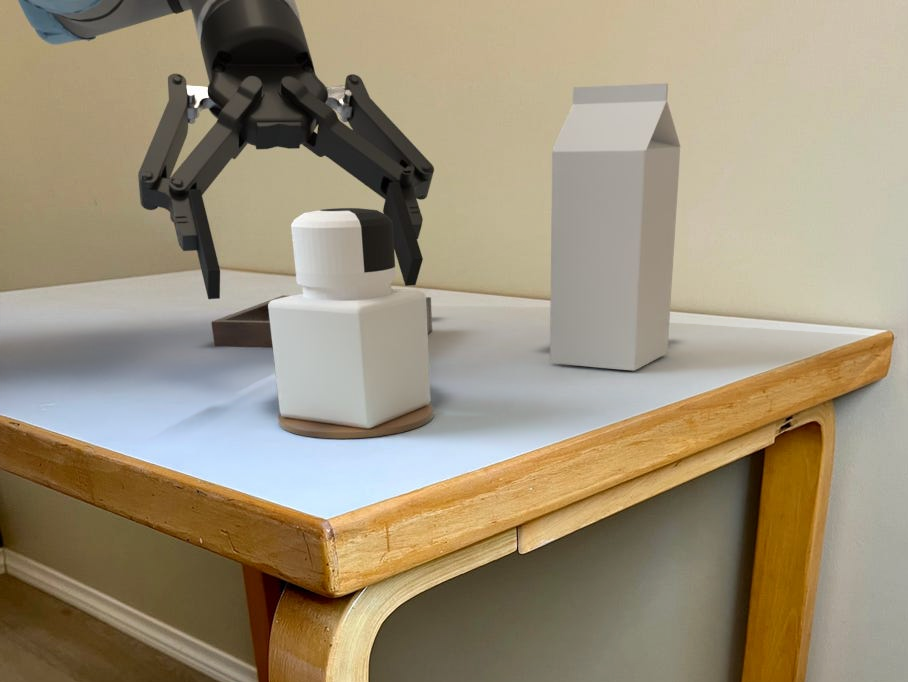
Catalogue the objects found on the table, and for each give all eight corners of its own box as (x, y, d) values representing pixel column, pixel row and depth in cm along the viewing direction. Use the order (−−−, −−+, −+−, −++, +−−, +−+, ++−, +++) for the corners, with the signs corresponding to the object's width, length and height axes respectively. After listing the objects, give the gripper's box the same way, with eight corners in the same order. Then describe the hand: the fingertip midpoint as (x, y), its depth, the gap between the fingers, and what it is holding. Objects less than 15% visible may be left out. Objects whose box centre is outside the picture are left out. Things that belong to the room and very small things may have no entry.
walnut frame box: (216, 358, 83) (210, 321, 82) (285, 328, 96) (282, 295, 95) (383, 363, 80) (380, 324, 79) (432, 331, 93) (431, 297, 92)
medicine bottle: (345, 394, 69) (329, 204, 64) (433, 404, 66) (424, 206, 61) (278, 418, 64) (254, 213, 58) (369, 431, 61) (353, 215, 55)
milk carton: (635, 373, 75) (649, 82, 66) (549, 365, 78) (552, 86, 70) (667, 355, 81) (684, 84, 72) (586, 349, 84) (593, 88, 75)
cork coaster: (252, 435, 62) (251, 428, 62) (313, 397, 71) (312, 391, 70) (408, 441, 60) (407, 435, 60) (450, 401, 68) (450, 396, 68)
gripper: (406, 80, 80) (477, 301, 75) (75, 80, 72) (127, 328, 67) (424, -7, 73) (504, 230, 68) (61, -17, 66) (117, 250, 60)
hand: (317, 279), depth 67 cm, fingers open, 13 cm apart
